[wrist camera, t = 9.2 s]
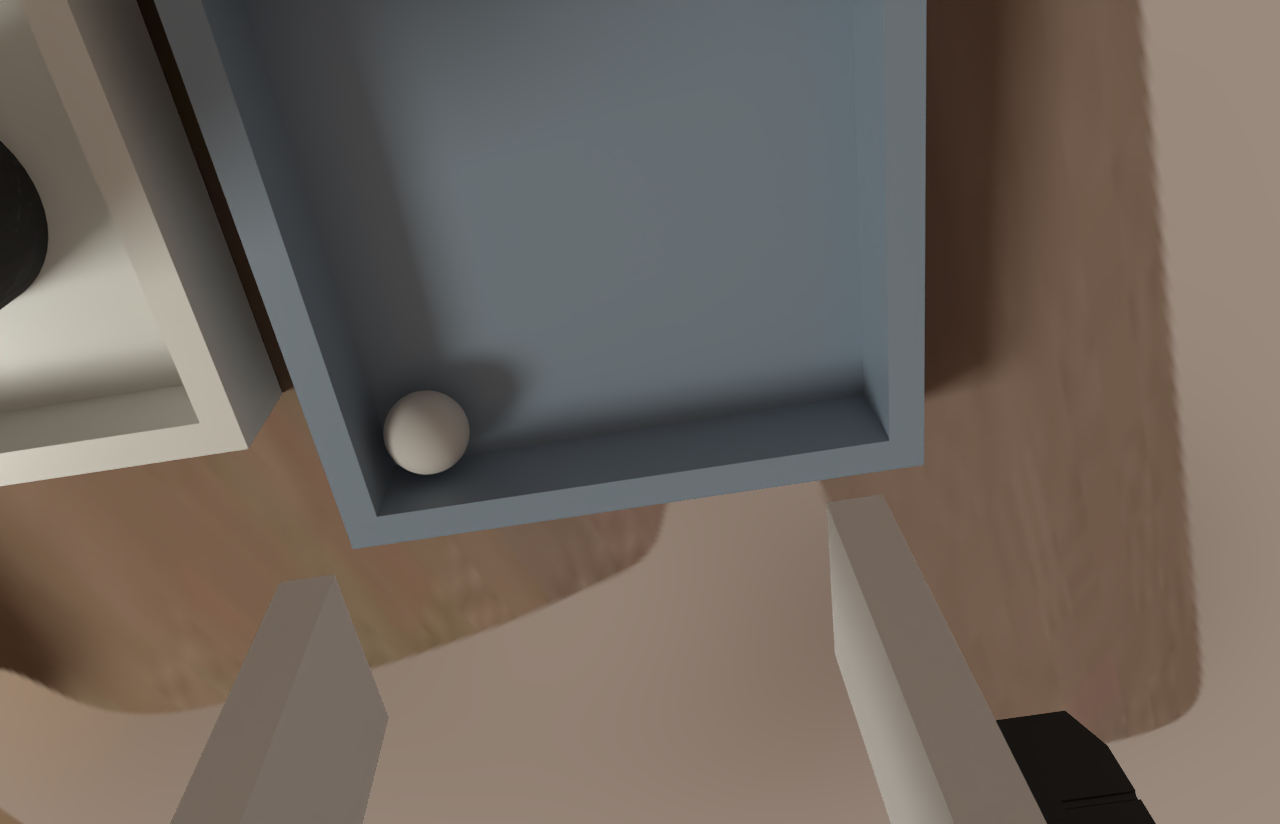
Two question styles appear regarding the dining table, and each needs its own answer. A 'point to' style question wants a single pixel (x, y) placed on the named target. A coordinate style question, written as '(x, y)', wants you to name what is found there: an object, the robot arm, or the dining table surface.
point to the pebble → (426, 432)
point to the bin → (578, 239)
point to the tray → (116, 261)
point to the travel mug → (19, 229)
